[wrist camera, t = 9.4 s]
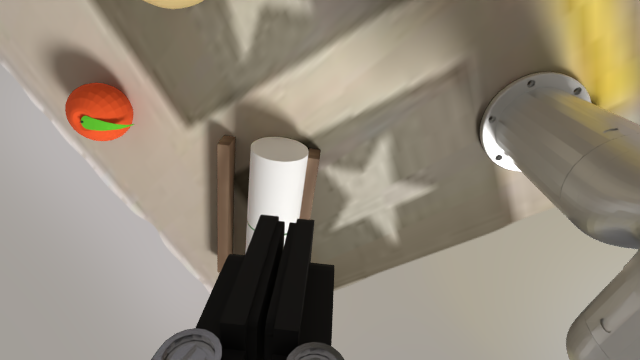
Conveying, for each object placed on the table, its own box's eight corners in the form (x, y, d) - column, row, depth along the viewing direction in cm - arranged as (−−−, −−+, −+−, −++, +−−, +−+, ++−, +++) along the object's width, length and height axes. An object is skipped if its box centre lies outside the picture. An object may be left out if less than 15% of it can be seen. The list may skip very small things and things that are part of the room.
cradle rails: (320, 150, 47) (319, 159, 44) (301, 270, 57) (299, 283, 55) (224, 135, 46) (217, 144, 44) (223, 259, 57) (217, 272, 54)
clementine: (152, 86, 44) (120, 102, 37) (152, 136, 47) (123, 159, 41) (87, 70, 43) (44, 84, 37) (92, 122, 46) (53, 143, 40)
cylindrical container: (274, 132, 47) (262, 268, 59) (238, 147, 41) (233, 294, 53) (319, 149, 44) (297, 288, 56) (287, 168, 39) (270, 317, 51)
